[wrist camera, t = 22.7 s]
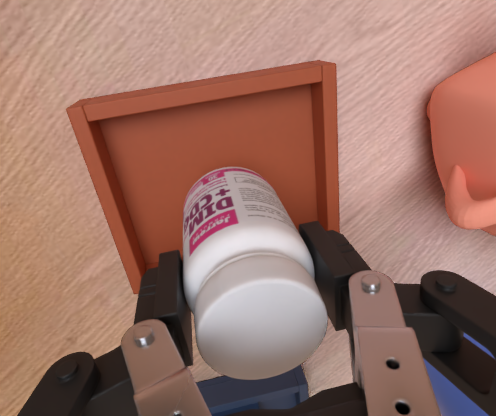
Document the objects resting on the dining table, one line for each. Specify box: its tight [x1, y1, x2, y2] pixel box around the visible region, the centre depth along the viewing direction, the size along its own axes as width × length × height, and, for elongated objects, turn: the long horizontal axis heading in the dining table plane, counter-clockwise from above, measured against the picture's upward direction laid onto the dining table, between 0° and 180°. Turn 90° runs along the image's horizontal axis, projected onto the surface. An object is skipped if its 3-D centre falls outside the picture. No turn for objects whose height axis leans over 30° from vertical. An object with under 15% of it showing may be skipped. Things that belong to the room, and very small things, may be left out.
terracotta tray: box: [66, 60, 340, 294], centre depth 21 cm, size 14×12×3 cm
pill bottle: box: [183, 167, 328, 380], centre depth 14 cm, size 5×5×8 cm
